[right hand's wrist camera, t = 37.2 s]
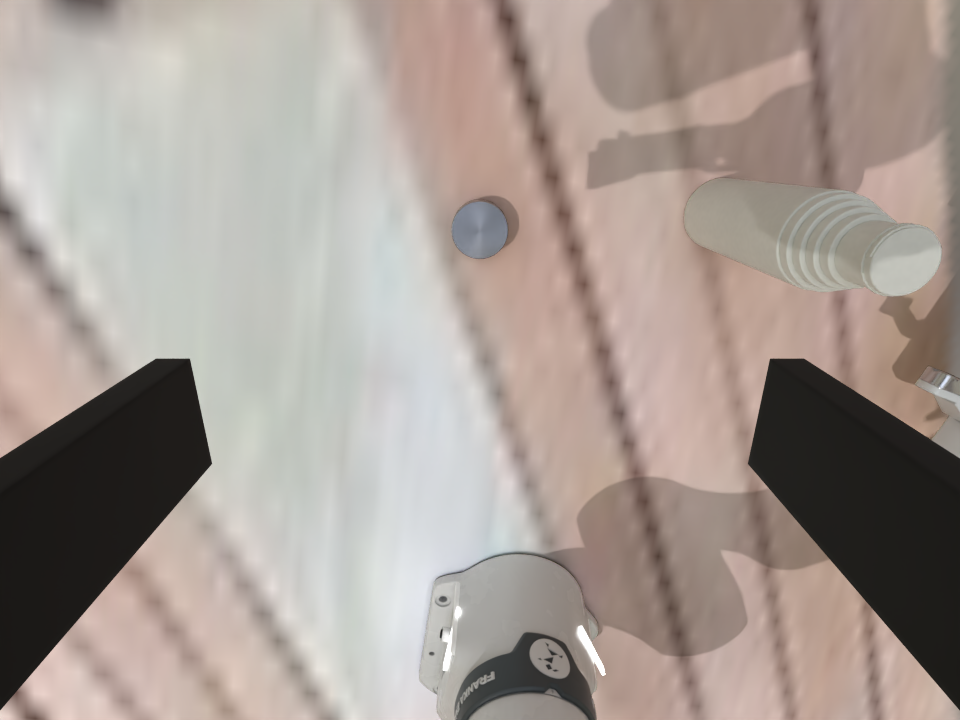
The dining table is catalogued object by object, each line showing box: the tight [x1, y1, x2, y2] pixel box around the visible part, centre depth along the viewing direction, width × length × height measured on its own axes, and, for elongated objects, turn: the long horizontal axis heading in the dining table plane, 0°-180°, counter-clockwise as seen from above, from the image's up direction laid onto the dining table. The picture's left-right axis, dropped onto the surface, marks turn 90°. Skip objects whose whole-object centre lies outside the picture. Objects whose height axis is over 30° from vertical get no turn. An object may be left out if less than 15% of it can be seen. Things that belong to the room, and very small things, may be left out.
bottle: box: [684, 178, 942, 296], centre depth 34 cm, size 6×6×20 cm
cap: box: [452, 199, 508, 259], centre depth 43 cm, size 4×4×2 cm
